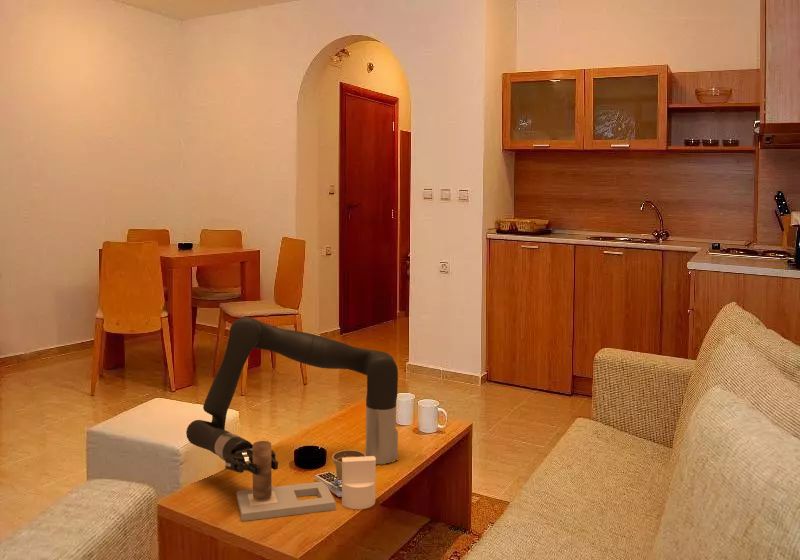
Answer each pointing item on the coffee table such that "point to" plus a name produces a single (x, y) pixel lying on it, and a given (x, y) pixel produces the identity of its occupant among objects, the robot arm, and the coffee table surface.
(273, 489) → the board
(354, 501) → the base with upright slab
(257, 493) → the walnut cylinder
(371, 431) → the robot arm
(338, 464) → the flower pot
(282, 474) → the coffee table surface
